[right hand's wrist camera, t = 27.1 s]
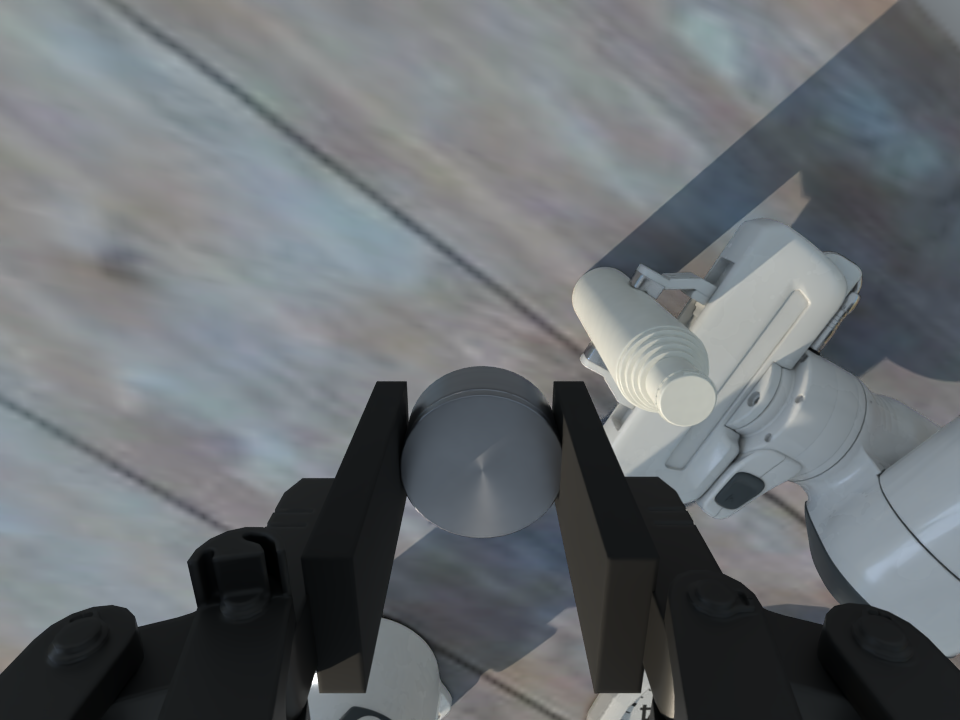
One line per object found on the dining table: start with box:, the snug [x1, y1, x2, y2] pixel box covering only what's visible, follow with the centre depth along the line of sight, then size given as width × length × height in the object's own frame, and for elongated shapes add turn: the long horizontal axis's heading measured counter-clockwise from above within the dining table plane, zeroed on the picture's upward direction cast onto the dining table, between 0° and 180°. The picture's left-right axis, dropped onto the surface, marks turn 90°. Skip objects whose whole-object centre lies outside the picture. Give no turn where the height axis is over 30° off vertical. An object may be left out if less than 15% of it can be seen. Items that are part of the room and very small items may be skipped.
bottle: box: [572, 267, 717, 426], centre depth 35 cm, size 5×5×20 cm
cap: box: [400, 366, 562, 538], centre depth 14 cm, size 4×4×2 cm
